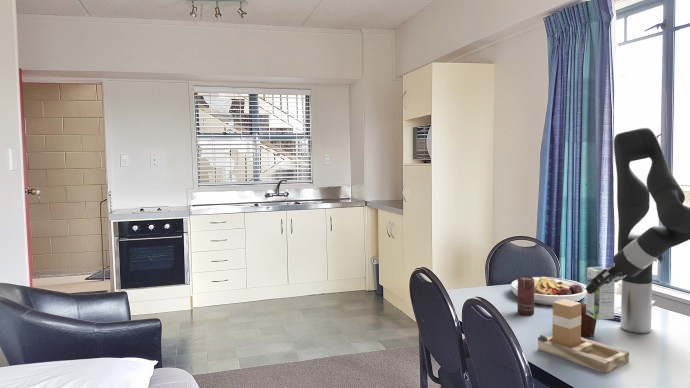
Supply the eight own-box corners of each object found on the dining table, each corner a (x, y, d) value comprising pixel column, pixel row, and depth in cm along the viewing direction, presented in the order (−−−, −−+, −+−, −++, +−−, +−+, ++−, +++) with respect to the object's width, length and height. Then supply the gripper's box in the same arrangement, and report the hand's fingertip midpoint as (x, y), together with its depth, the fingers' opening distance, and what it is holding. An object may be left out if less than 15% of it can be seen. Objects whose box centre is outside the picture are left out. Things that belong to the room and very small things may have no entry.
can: (517, 315, 200) (517, 279, 199) (518, 310, 206) (518, 275, 205) (533, 316, 198) (534, 280, 197) (534, 311, 204) (534, 276, 202)
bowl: (497, 297, 224) (497, 279, 224) (532, 284, 244) (532, 267, 244) (566, 313, 202) (566, 293, 201) (598, 296, 222) (599, 278, 221)
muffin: (603, 332, 180) (604, 304, 179) (590, 341, 172) (591, 311, 172) (568, 324, 189) (569, 297, 188) (555, 332, 181) (555, 304, 180)
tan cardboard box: (563, 343, 170) (563, 298, 168) (580, 349, 165) (581, 303, 163) (552, 348, 166) (552, 302, 165) (569, 354, 161) (570, 306, 160)
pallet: (561, 340, 174) (561, 326, 174) (628, 361, 156) (629, 346, 155) (537, 349, 167) (537, 335, 166) (605, 373, 149) (605, 357, 148)
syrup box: (585, 314, 158) (585, 267, 157) (603, 313, 159) (604, 266, 157) (595, 320, 152) (596, 271, 151) (615, 319, 153) (615, 270, 152)
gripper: (639, 242, 151) (600, 274, 162) (612, 249, 143) (573, 282, 154) (658, 263, 148) (616, 295, 158) (632, 271, 140) (590, 304, 150)
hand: (595, 288), depth 156 cm, fingers closed on syrup box, 7 cm apart
